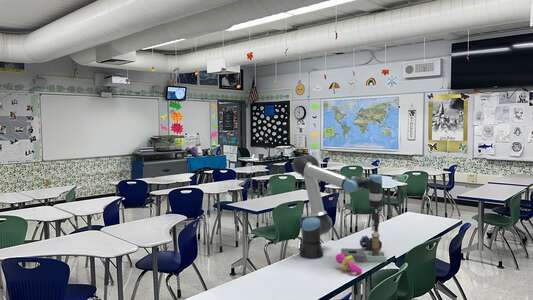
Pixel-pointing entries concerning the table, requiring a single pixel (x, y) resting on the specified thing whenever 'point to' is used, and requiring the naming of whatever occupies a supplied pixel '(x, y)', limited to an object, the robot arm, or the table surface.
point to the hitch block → (354, 254)
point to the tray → (375, 257)
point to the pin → (375, 245)
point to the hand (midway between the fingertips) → (374, 233)
